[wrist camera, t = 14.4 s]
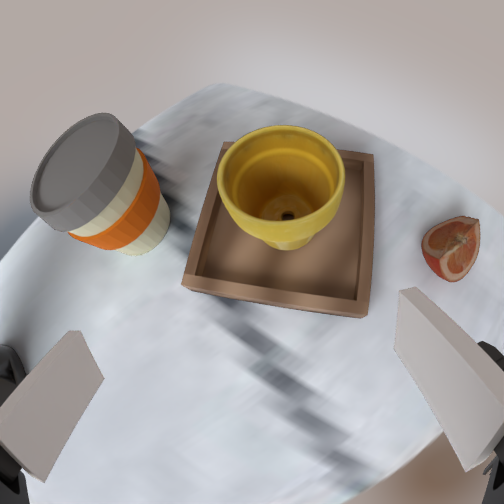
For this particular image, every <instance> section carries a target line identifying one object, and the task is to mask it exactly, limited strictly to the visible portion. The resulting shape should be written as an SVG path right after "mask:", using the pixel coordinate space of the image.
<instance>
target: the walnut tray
mask: <svg viewBox="0 0 504 504" xmlns="http://www.w3.org/2000/svg"><path fill="white" fill-rule="evenodd" d="M234 143H235V142H224V143H223V146H222V149H221V151H220V154H219V157H218V160H217V163H216V166H215V169H214V173H213V176H212V179H211V182H210V185H209V188H208V191H207V195H206V198H205V201H204V204H203V208H202V211H201V214H200V218H199V221H198V225H197V228H196V231H195V235H194V238H193V242H192V246H191V249H190V253H189V257H188V260H187V264H186V268H185V272H184V275H183V279H182V283H181V285H183V286H184V287H186V288H188V289H189V290H191V291H195V292H200V293H205V294H210V295H215V296H220V297H226V298H231V299H236V300H242V301H247V302H253V303H259V304H265V305H271V306H277V307H283V308H289V309H296V310H302V311H309V312H316V313H323V314H330V315H337V316H345V317H353V318H363V317H365V316H367V315H368V307H369V298H370V288H371V277H372V264H373V247H374V218H375V186H374V157H373V154H367V153H360V152H353V151H346V150H338V149H336V150H337V151H338V153H339V154H340V156H341V158H342V161H343V164H344V168H345V185H344V190H343V195H342V198H341V202H340V205H339V208H338V210H337V212H336V214H335V216H334V217H333V219H332V220H331V221H330V222H329V223H328V224H327V225H326V226H325V227H324V228H323V229H322V230H320V231H319V232H317V233H316V234H315V235H314V237H313V238H312V239H311V240H310V241H309V242H308V243H307V244H306V245H304V246H302V247H300V248H298V249H295V250H279V249H276V248H273V247H271V246H269V245H268V244H266V243H265V242H264V241H263V240H262V239H259V238H256V237H254V236H252V235H250V234H248V233H247V232H245V231H244V230H243V229H241V228H240V227H239V226H238V225H237V224H236V222H235V221H234V220H233V218H232V217H231V215H230V214H229V212H228V210H227V209H226V207H225V205H224V203H223V201H222V199H221V196H220V194H219V191H218V186H217V172H218V167H219V164H220V162H221V160H222V158H223V156H224V154H225V153H226V152H227V150H228V149H229V148H230V147H231V146H232V145H233V144H234ZM293 219H294V216H293V215H291V214H285V215H284V216H283V217H282V220H283V221H286V220H293Z"/></svg>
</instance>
